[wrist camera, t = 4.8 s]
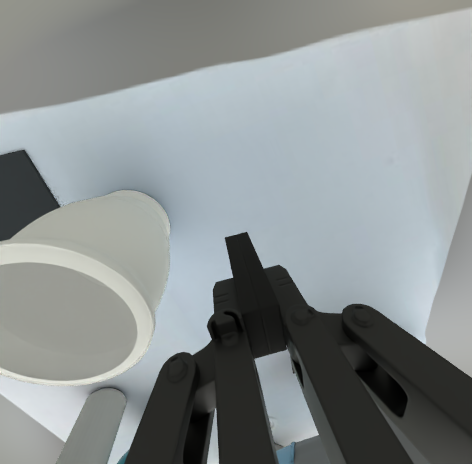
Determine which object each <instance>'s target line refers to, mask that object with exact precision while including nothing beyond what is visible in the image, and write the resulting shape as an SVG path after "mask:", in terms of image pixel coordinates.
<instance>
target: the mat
mask: <svg viewBox="0 0 472 464" xmlns="http://www.w3.org/2000/svg"><path fill="white" fill-rule="evenodd" d="M57 208H60V206H59V205H58V203H57V202H56V200H55V198H54V197H53V195H52V194H51V192H50V190H49V189H48V187H47V186H46V184H45V182H44V181H43V179H42V178H41V176H40V174H39V173H38V171H37V169H36V168H35V166H34V165H33V163H32V161H31V160H30V158H29V157H28V155H27V153H26V152H25V150H21V151H17V152H12V153H8V154H4V155H0V241H4V240H10V239H11V238H12V237H13V236H14V235H16V234H17V233H18V232H19V231H21V230H22V229H23V228H25V227H26V226H27V225H29V224H30V223H32V222H33V221H35V220H36V219H38V218H40V217H41V216H43V215H45V214H47V213H49V212H51V211H53V210H55V209H57Z"/></svg>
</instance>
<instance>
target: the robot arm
mask: <svg viewBox="0 0 472 464" xmlns="http://www.w3.org/2000/svg"><path fill="white" fill-rule="evenodd" d="M225 241H226V245H227V250H228V255H229V259H230V264H231V269H232V274H233V278H230V279H226V280H223V281H219V282H216V284H215V286H214V288H213V298H214V299H213V302H214V314H213V315H212V316H211V318H210V319H209V321H208V325H207V328H208V331H209V333H210V336H211V338H212V340H211V342H210V343H209V344H208V345H207V346H206V347H205V348H203V349H202V350H200V351H199V352H197V353H195V354H194V355H191V354H190V353H186V352H181V353H177V354H175V355H174V356H172V357H170V358H169V359H168V360H167V361H166V362H165V363H164V365H163V367H162V368H161V370H160V372H159V375H158V378H157V380H156V383H155V385H154V388H153V390H152V393H151V396H150V398H149V401H148V403H147V406H146V408H145V411H144V414H143V416H142V419H141V421H140V424H139V426H138V429H137V432H136V434H135V437H134V439H133V442H132V444H131V447H130V450H129V452H128V455H127V457H126V460H125V462H124V464H207V458H208V451H209V444H210V437H211V431H212V424H213V417H214V411H215V408H216V410H217V429H218V448H219V464H472V378H471V377H470V376H468V375H467V374H465V373H464V372H463V371H461V370H460V369H458V368H457V367H455V366H454V365H453V364H451V363H450V362H449V361H447V360H446V359H444V358H443V357H441V356H440V355H439V354H437V353H436V352H435V351H433V350H432V349H430V348H429V347H427V346H426V345H425V344H423V343H422V342H420V341H419V340H418V339H417V338H415V337H413V336H412V335H411V334H409V333H408V332H406V331H405V330H404V329H402V328H401V327H399V326H398V325H397V324H395V323H394V322H392V321H391V320H390V319H388V318H387V317H385V316H384V315H383V314H381V313H380V312H378V311H377V310H375V309H373V308H372V307H370V306H367V305H363V304H352V305H349V306H347V307H345V308H344V309H343V312H342V314H336V313H322V312H318V311H316V310H315V309H314V308H312V307H310V306H309V305H308V304H307V303H306V301H305V300H304V298H303V296H302V295H301V293H300V291H299V290H298V288H297V286H296V285H295V283H294V282H293V280H292V278H291V277H290V275H289V273H288V272H287V270H286V269H285V268H283V267H282V266H280V265H277V266H273V267H269V268H265V269H263V267H262V264H261V262H260V260H259V258H258V255H257V253H256V251H255V249H254V246H253V244H252V242H251V240H250V238H249V235H248V233H247V232H245V233H241V234H237V235H233V236H229V237H225ZM286 346H287V347H286ZM287 348H288V351H289V353H290V358H291V364H292V370H293V374H294V373H296V376H297V379H298V381H299V384H300V386H301V389H302V392H303V394H304V397H305V400H306V402H307V405H308V407H309V410H310V413H311V415H312V418H313V420H314V423H315V426H316V428H317V431H318V433H319V435H318V436H315V437H312V438H309V439H306V440H303V441H300V442H297V443H296V442H292V443H291V445H289V446H287V447H284V448H282V449H279V450H277V451H276V448H275V444H274V440H273V436H272V431H271V427H270V423H269V418H268V414H267V410H266V406H265V401H264V397H263V393H262V388H261V384H260V380H259V376H258V371H257V368H256V364H255V360H254V359H255V358H259V357H262V356H266V355H269V354H273V353H277V352H280V351H284V350H287Z"/></svg>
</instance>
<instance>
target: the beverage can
mask: <svg viewBox="0 0 472 464" xmlns="http://www.w3.org/2000/svg"><path fill="white" fill-rule="evenodd" d="M126 403H127V400H126V398H125V396H124V394H123V393H122V392H121V391H119V390H117V389H113V388H104V389H100V390H98V391H96V392H94V393H92V394H91V395H89V397H88V398H87V400H86V402H85V404H84V406H83V408H82V410H81V412H80V414H79V416H78V418H77V420H76V423H75V425H74V427H73V429H72V431H71V433H70V435H69V437H68V439H67V441H66V443H65V445H64V448H63V450H62V452H61V454H60V456H59V458H58V460H57V462H56V464H107V463H108V460H109V457H110V453H111V450H112V447H113V444H114V441H115V438H116V435H117V432H118V428H119V425H120V422H121V419H122V416H123V413H124V410H125V407H126Z"/></svg>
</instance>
